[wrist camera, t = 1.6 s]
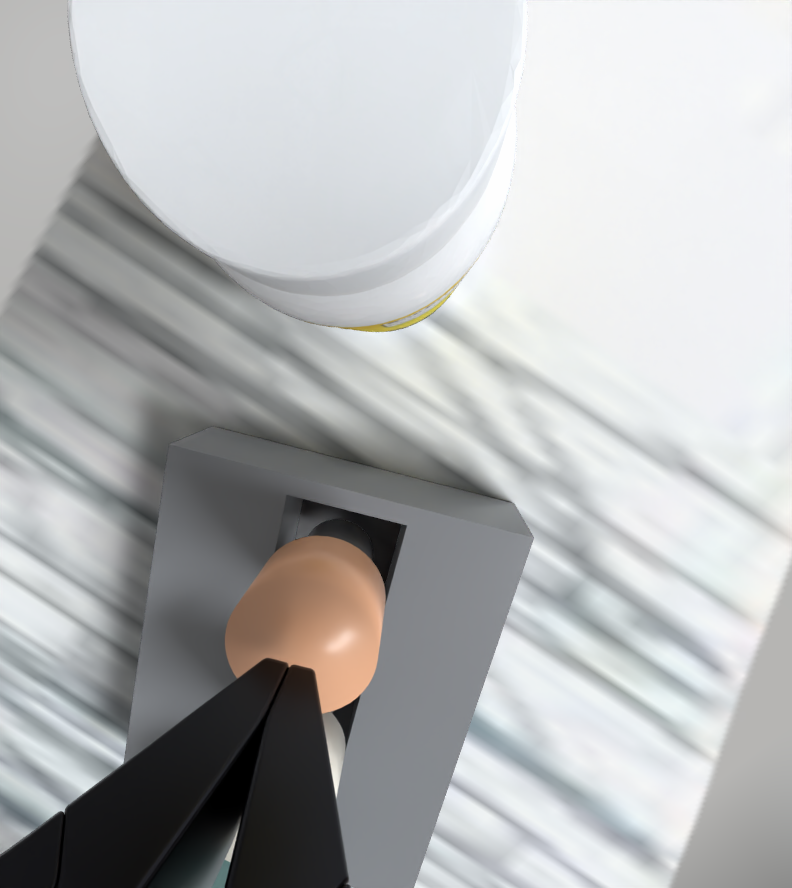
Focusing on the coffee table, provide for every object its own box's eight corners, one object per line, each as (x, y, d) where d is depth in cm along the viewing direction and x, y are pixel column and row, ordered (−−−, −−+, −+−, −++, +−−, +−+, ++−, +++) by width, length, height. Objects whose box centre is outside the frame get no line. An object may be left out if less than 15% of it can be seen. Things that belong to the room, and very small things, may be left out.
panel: (410, 819, 16) (409, 901, 14) (159, 755, 16) (114, 826, 14) (514, 503, 13) (534, 537, 11) (213, 426, 13) (168, 444, 11)
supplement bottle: (252, 225, 12) (-100, -19, 4) (392, 94, 11) (315, -565, 3) (367, 370, 13) (271, 419, 5) (507, 255, 12) (695, 67, 4)
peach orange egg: (377, 609, 13) (358, 730, 9) (278, 584, 13) (213, 693, 9) (403, 516, 12) (394, 600, 8) (298, 489, 12) (238, 560, 8)
